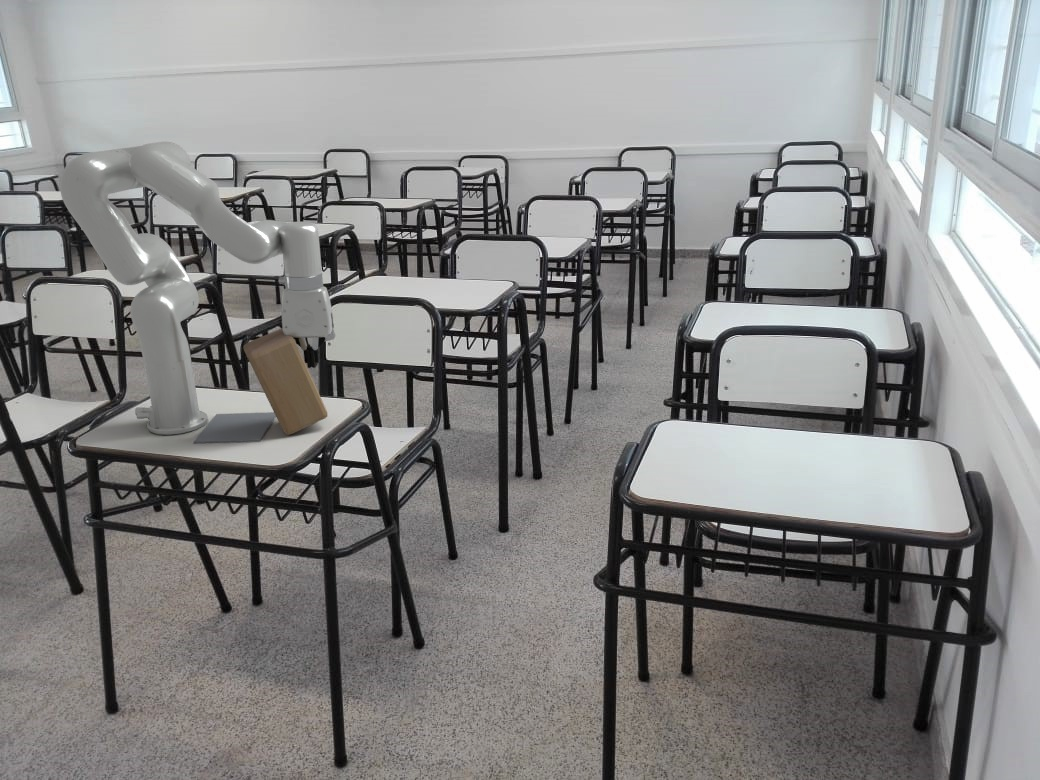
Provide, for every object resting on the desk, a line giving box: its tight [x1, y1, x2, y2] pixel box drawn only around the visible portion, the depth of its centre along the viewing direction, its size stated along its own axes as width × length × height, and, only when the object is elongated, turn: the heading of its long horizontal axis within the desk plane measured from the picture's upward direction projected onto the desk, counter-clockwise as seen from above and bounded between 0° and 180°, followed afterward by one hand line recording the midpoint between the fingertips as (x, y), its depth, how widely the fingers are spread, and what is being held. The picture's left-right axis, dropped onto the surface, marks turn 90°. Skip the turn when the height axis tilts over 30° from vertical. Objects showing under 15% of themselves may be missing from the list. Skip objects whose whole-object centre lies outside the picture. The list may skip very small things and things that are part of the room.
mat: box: [193, 411, 277, 444], centre depth 186 cm, size 14×16×1 cm
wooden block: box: [243, 328, 328, 436], centre depth 182 cm, size 10×10×20 cm
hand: (312, 365), depth 182 cm, fingers closed
